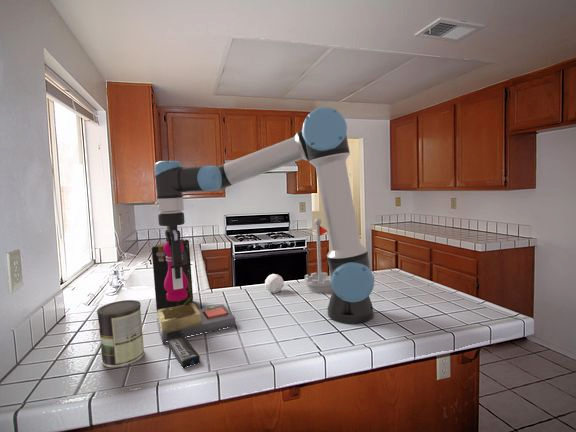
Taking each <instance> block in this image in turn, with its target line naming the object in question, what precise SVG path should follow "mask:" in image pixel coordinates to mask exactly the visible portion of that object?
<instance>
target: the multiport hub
mask: <svg viewBox="0 0 576 432" xmlns="http://www.w3.org/2000/svg"><path fill="white" fill-rule="evenodd" d="M169 347H170V348H169ZM168 348H169V349H170V350H172V351H171V353H172V352H173V353H172V354H173V356H174V355H175V356H174V357H175V359H176V360H177V362H178V363H180V364H181V365H180V364H179V365H180V366H182V367H183V368H184V369H186V368H185V367H187V366H190V365H193V366H195V365H194V364H196V365H199V364H201V358H200V354H199V353H198V352H197V351H196V350H195V347H194V346H192V344H191V343H190V341H189V340H188V338H185V337H184V336H183V337H179V338H176V339H172V340H169V342H168ZM198 363H199V364H198ZM182 367H181V368H182ZM190 367H191V366H190ZM183 368H182V369H183ZM187 368H188V367H187Z"/></svg>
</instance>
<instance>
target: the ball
mask: <svg viewBox="0 0 576 432" xmlns="http://www.w3.org/2000/svg"><path fill="white" fill-rule="evenodd" d="M284 282H285V281H284V279H283V277H282V276H281V275H279V274H275V273H272V274H269V275H268V276H267V277H266V279H265V280H264V286H265V289H266V291H268V292H270V293H273V294H275V293H276V294H277V293H279V292H281V290H282V289H283V288H284V286H285V285H284V284H285V283H284Z"/></svg>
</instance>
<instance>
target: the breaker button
mask: <svg viewBox="0 0 576 432" xmlns="http://www.w3.org/2000/svg"><path fill="white" fill-rule="evenodd" d="M204 314H205V317H206V318H207V319H211V318H215V317H220V316H224V315H227V312H226V311H225V310H224V309H223V308H222V307H221V308H216V309H211V310H206V311H204Z"/></svg>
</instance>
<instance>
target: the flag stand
mask: <svg viewBox="0 0 576 432" xmlns="http://www.w3.org/2000/svg"><path fill="white" fill-rule="evenodd" d="M313 223H314V225H315V228H316V254H317V257H316V259H317V272H313V273H312V272H311V273H310V275H309V274H305V275H304V284H305V285H306V289H307V291H308V292H311V293H316V294H318V293H319V294H320V293H321V294H322V293H323V294H325V293H330V292H332V287H331V275H330V274H329V275H328V272H323V271H322V250H321V249H322V248H321V244H322V243H321V236H322V235H323V234H326V233H328V231H327V229H326V228H324V227H322V226H321V224H322V220H321V218H318V217H317V218H315V219H314V222H313Z"/></svg>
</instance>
